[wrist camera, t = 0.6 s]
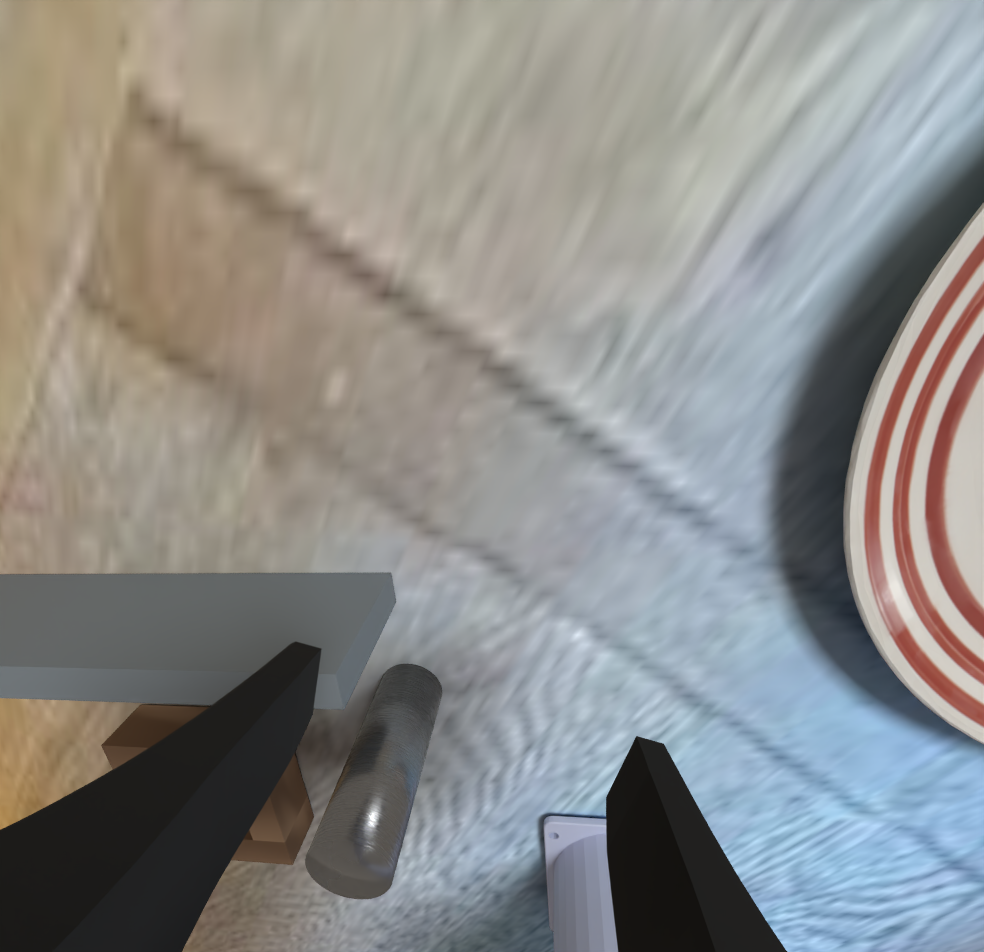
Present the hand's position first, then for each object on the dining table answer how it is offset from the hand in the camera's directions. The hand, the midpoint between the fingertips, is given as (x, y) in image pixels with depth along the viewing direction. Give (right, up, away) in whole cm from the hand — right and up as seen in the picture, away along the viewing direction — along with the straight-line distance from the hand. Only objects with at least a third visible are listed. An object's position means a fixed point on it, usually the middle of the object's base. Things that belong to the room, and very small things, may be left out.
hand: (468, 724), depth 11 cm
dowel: (-3, -5, +13) cm, 14 cm away
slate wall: (-14, 0, +12) cm, 18 cm away
